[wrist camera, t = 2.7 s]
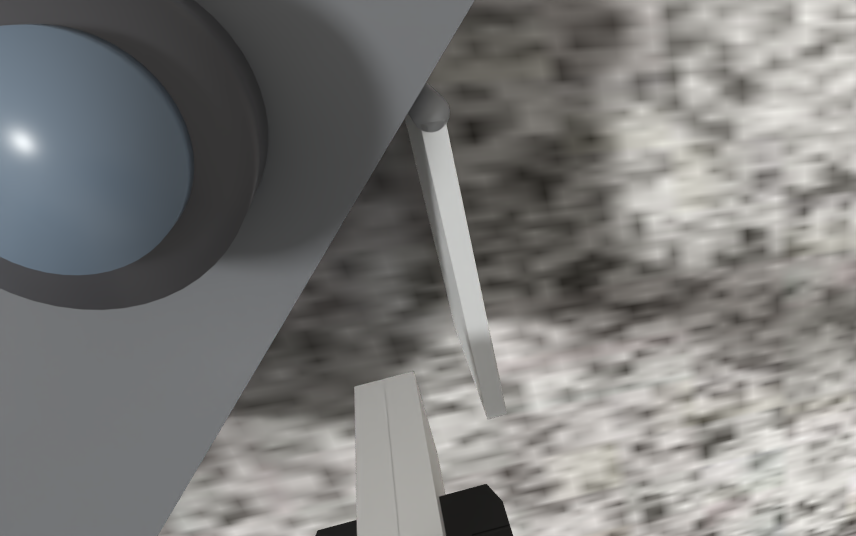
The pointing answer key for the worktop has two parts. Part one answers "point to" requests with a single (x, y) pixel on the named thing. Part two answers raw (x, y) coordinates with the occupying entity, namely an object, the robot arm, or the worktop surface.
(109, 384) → the camera body
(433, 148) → the side door
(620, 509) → the worktop surface
